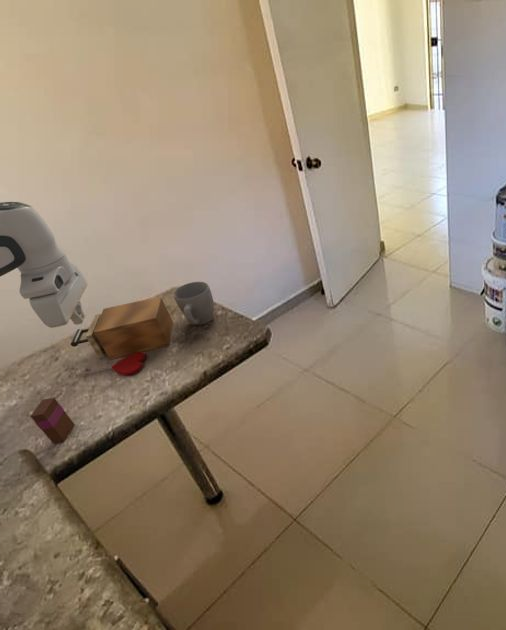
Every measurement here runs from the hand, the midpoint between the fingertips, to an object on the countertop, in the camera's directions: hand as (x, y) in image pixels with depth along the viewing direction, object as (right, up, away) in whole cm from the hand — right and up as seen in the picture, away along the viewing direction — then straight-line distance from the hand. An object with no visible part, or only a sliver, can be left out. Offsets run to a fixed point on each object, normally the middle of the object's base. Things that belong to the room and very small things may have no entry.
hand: (80, 321), depth 106 cm
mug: (+23, -1, +13) cm, 27 cm away
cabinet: (+10, -5, +8) cm, 14 cm away
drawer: (+5, -6, +6) cm, 10 cm away
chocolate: (+10, -23, -17) cm, 30 cm away
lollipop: (+9, -12, -1) cm, 15 cm away
